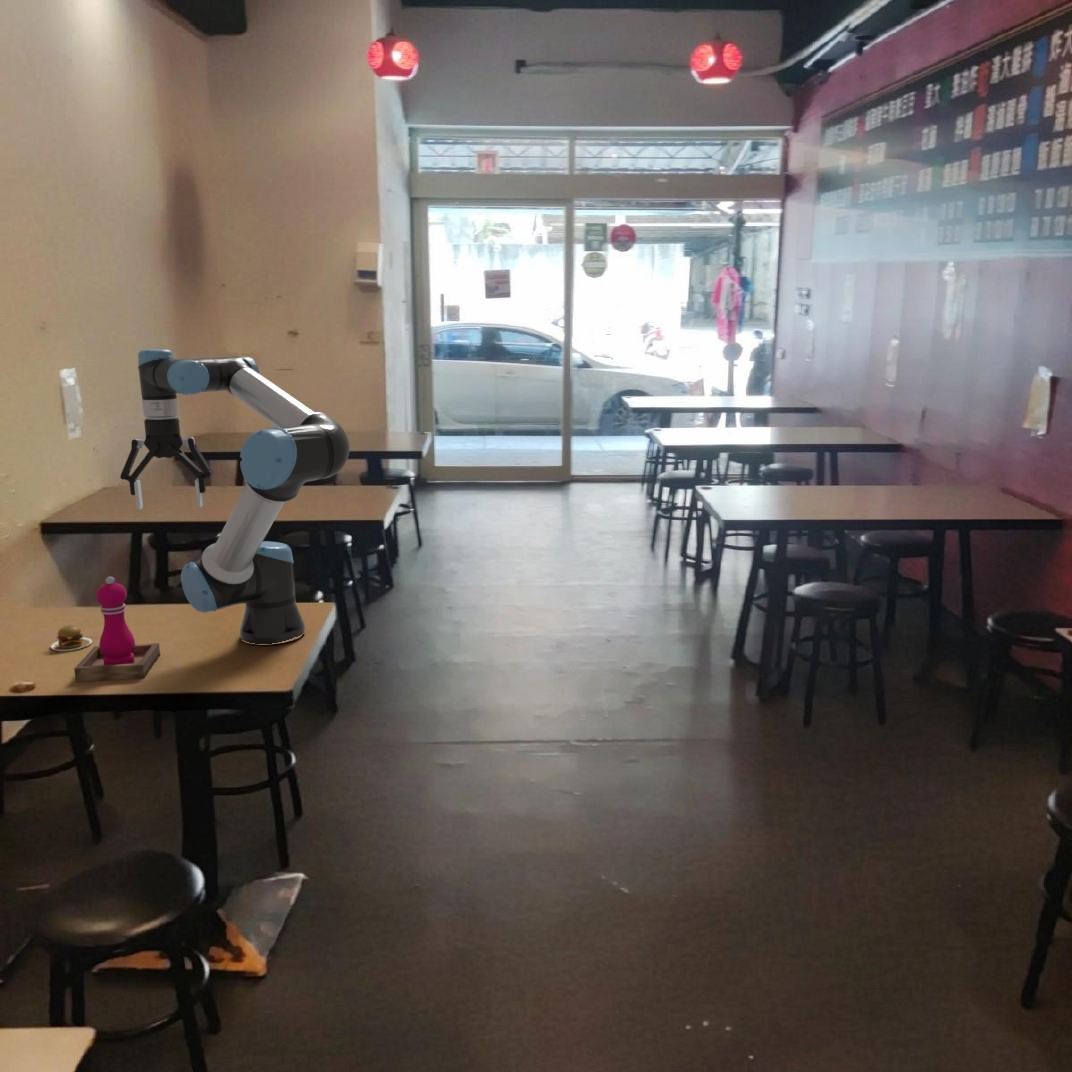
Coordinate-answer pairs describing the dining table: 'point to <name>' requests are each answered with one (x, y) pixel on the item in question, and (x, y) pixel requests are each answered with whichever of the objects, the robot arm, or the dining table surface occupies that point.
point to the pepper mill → (115, 625)
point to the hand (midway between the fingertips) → (170, 507)
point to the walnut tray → (117, 665)
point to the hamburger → (70, 638)
